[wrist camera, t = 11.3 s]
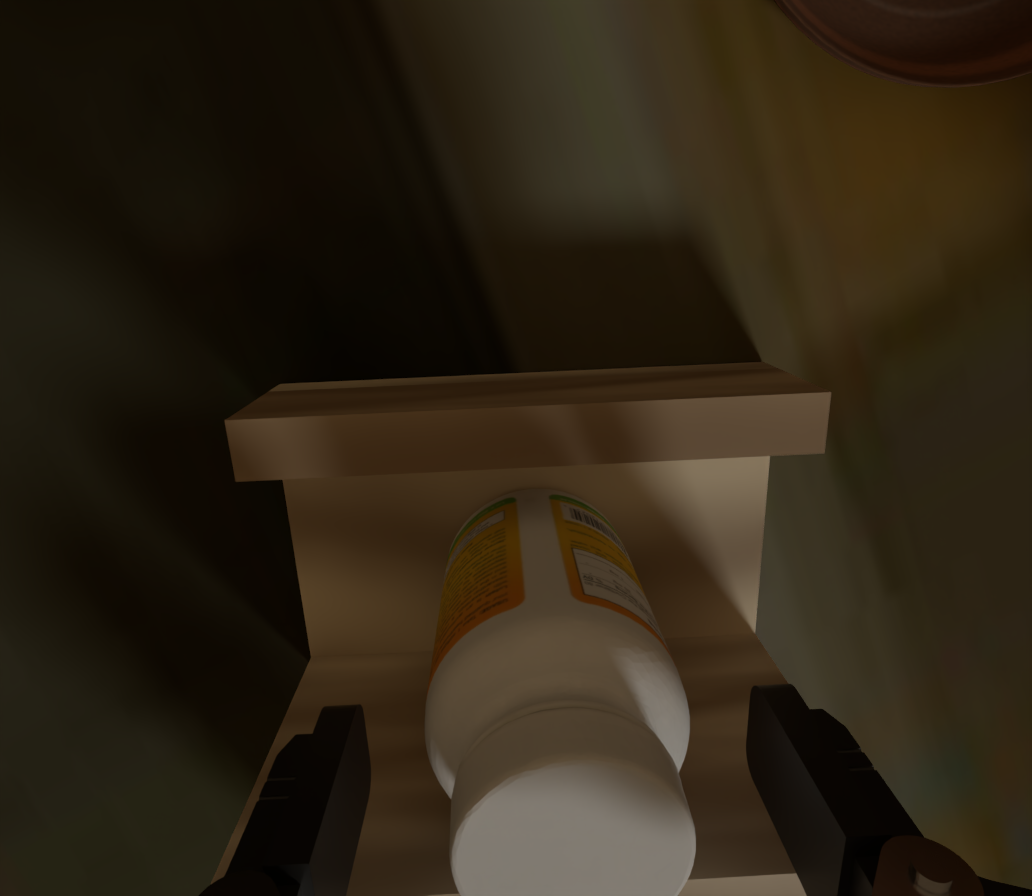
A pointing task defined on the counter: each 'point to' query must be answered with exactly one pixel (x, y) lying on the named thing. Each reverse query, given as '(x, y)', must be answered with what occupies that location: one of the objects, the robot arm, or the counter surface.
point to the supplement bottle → (556, 710)
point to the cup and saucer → (922, 38)
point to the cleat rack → (479, 480)
